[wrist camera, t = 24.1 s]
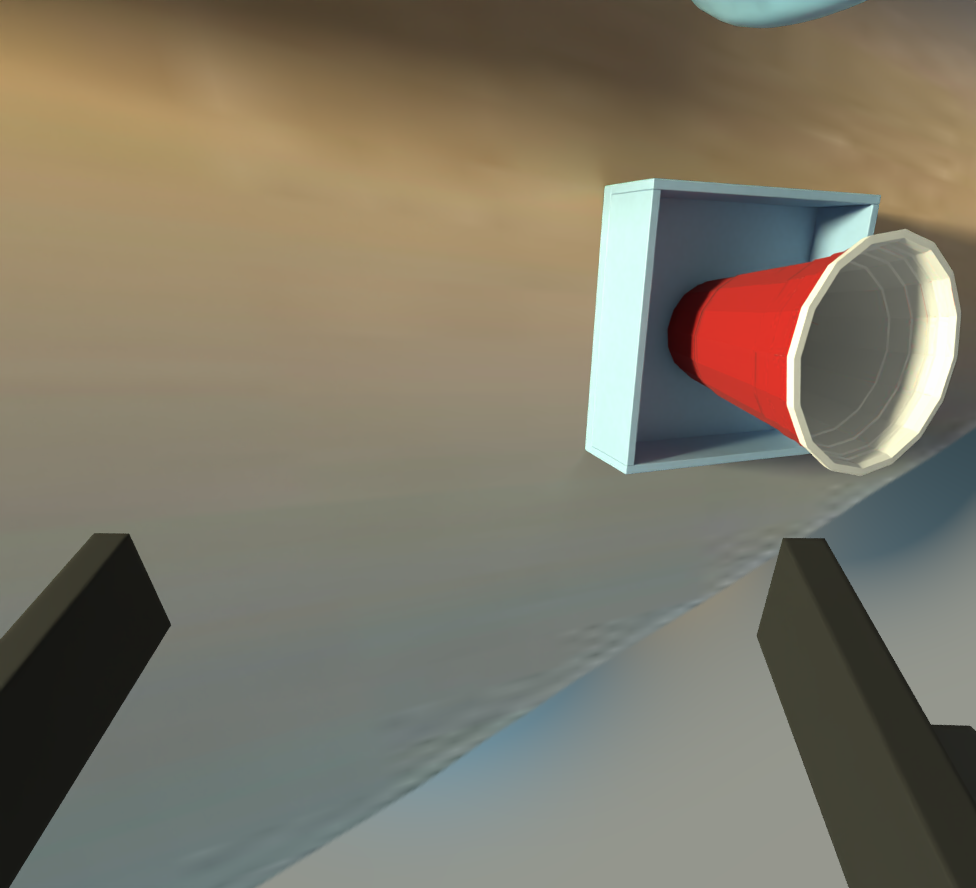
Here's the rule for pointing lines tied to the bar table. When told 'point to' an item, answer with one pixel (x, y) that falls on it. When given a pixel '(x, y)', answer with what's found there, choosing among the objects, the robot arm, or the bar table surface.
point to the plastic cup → (831, 347)
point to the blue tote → (658, 289)
